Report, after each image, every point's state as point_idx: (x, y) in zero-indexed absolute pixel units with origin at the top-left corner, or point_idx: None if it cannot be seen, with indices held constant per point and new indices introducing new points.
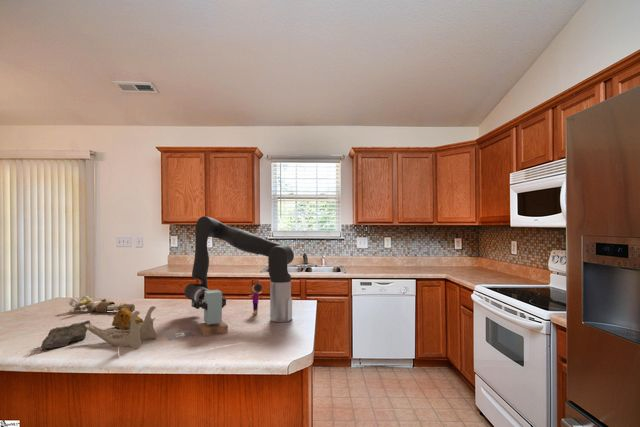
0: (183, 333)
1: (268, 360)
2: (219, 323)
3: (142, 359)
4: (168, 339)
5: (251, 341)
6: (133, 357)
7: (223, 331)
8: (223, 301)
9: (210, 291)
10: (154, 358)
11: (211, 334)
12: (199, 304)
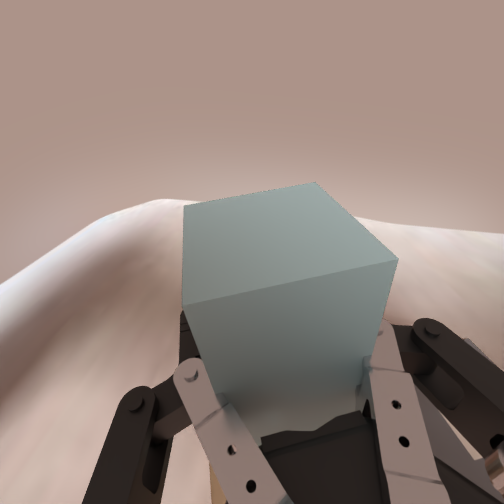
0: (457, 434)
1: (179, 206)
2: None
3: (445, 235)
4: (481, 352)
5: (163, 280)
6: (485, 246)
7: None
8: (166, 383)
9: (301, 226)
10: (414, 235)
11: None
12: (403, 329)
